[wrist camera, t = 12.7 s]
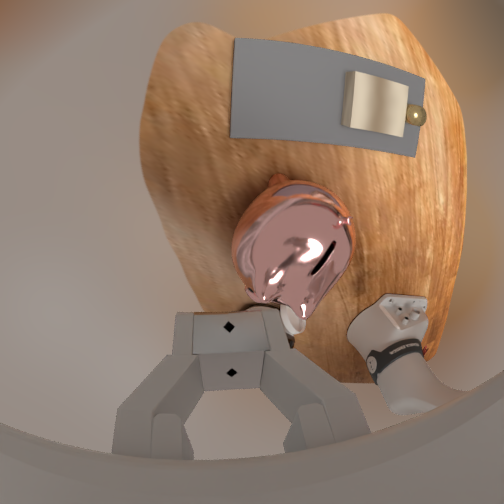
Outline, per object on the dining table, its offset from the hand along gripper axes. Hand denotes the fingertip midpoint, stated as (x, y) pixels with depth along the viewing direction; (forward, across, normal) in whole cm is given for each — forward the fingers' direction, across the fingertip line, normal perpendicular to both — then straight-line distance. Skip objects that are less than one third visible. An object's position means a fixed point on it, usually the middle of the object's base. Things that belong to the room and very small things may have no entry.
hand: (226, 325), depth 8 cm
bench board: (+33, +17, +8) cm, 38 cm away
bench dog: (+32, +28, +8) cm, 43 cm away
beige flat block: (+32, +22, +8) cm, 39 cm away
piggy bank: (+33, +10, -12) cm, 37 cm away
